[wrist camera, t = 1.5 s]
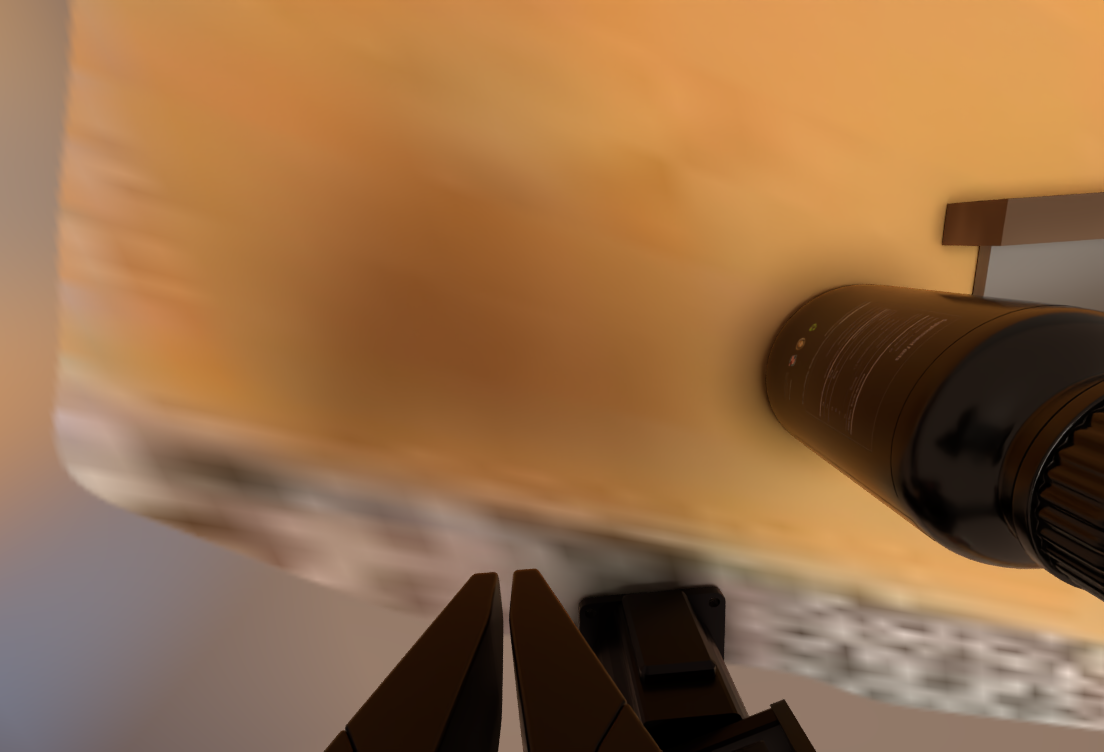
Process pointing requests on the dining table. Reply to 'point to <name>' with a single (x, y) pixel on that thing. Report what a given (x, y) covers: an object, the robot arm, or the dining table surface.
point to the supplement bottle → (958, 417)
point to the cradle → (1035, 247)
